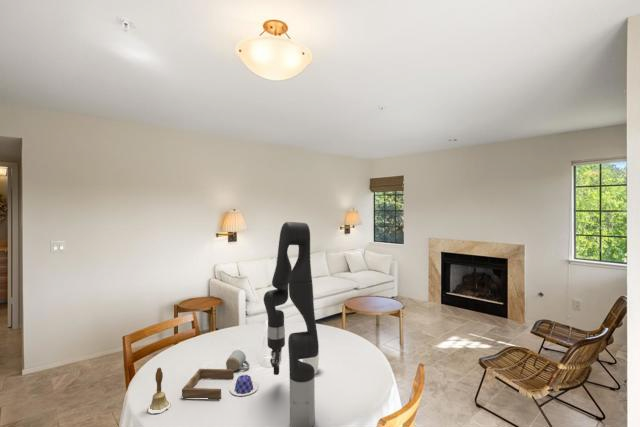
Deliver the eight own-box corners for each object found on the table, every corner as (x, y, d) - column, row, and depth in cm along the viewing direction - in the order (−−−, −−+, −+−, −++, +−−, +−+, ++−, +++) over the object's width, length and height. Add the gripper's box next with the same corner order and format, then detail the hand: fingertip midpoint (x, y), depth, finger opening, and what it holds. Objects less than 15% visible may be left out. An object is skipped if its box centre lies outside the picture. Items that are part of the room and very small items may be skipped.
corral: (220, 399, 135) (220, 390, 135) (182, 399, 136) (181, 389, 136) (233, 377, 153) (233, 369, 153) (199, 377, 154) (199, 368, 154)
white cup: (317, 376, 153) (316, 355, 153) (300, 375, 155) (300, 354, 155) (320, 368, 161) (320, 348, 161) (304, 367, 163) (304, 347, 162)
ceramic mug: (224, 372, 158) (224, 356, 158) (231, 363, 166) (231, 349, 166) (246, 373, 157) (246, 357, 157) (251, 365, 165) (251, 350, 165)
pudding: (229, 384, 148) (229, 373, 147) (256, 380, 151) (256, 369, 151) (230, 399, 136) (230, 387, 136) (259, 394, 140) (259, 382, 139)
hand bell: (164, 399, 136) (163, 361, 136) (174, 407, 131) (173, 367, 131) (143, 409, 130) (142, 369, 129) (153, 417, 124) (152, 376, 124)
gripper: (281, 341, 136) (282, 382, 136) (287, 329, 149) (287, 366, 150) (263, 341, 136) (264, 382, 137) (271, 328, 149) (271, 366, 150)
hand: (276, 373), depth 143 cm, fingers closed
